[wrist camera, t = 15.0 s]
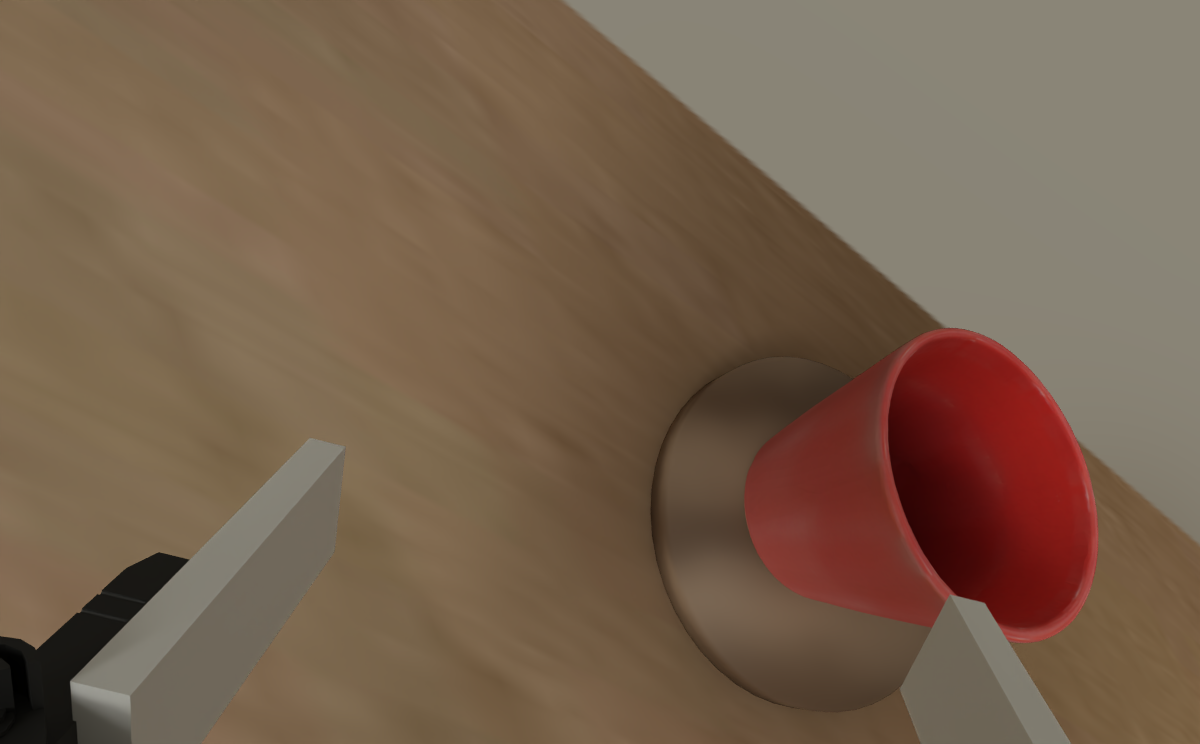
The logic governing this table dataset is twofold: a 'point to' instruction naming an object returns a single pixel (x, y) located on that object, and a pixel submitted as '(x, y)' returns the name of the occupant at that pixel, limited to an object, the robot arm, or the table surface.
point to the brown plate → (733, 567)
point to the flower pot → (932, 492)
